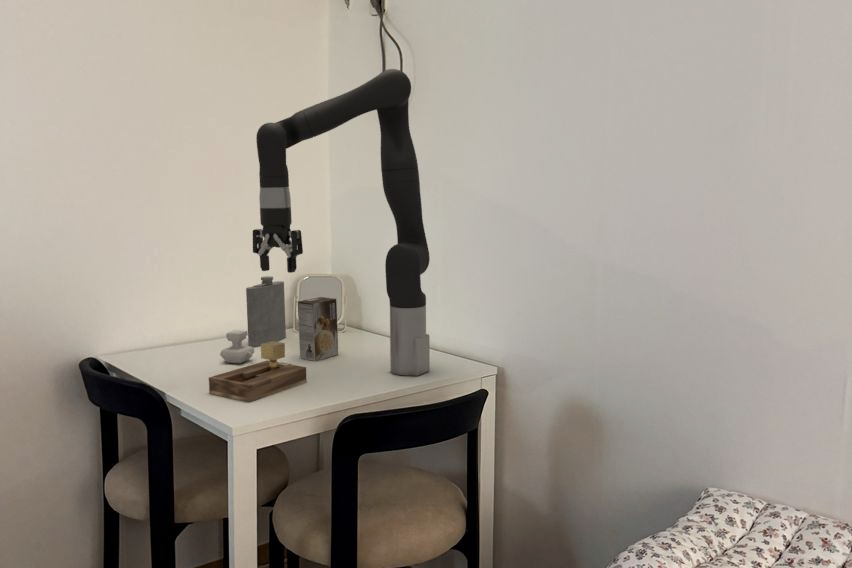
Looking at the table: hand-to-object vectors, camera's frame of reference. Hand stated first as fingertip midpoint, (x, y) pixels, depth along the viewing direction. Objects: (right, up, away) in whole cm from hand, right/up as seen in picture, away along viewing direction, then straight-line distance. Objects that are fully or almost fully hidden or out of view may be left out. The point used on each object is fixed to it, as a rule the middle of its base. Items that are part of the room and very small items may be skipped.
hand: (278, 271), depth 190 cm
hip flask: (-11, -21, +41) cm, 47 cm away
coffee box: (+7, -24, +22) cm, 33 cm away
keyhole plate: (-3, -28, -8) cm, 29 cm away
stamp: (-14, -24, +17) cm, 33 cm away
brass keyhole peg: (0, -26, -4) cm, 27 cm away
